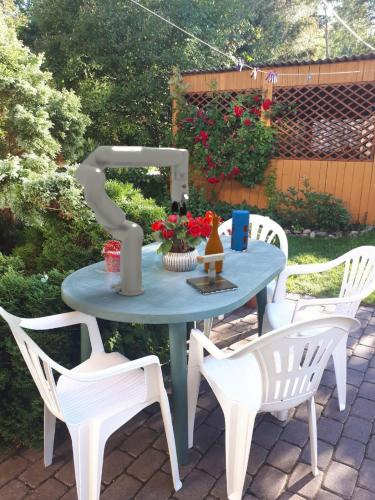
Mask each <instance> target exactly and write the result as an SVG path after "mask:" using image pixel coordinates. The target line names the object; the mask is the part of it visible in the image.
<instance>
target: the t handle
mask: <svg viewBox="0 0 375 500" xmlns="http://www.w3.org/2000/svg"><path fill="white" fill-rule="evenodd" d="M219 260H223V261H225V260H226V253H224V252H223V253H220V254H213V255H206V256H205V255H198V256H196V263H197V264H199V265H201V264H204V263H207V262H210V269H211V270H214V269H215V261H219Z"/></svg>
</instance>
